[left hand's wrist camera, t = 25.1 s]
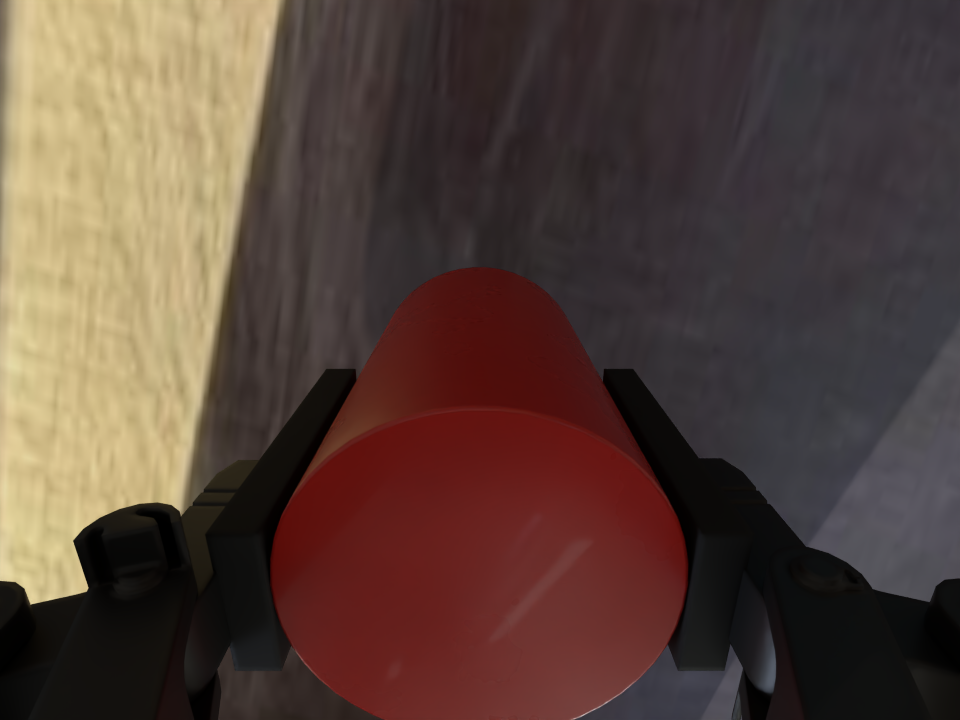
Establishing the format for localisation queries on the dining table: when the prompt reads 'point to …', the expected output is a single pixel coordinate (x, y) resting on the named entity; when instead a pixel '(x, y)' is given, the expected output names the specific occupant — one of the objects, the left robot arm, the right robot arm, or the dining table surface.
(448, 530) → the can
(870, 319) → the dining table surface
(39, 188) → the dining table surface
